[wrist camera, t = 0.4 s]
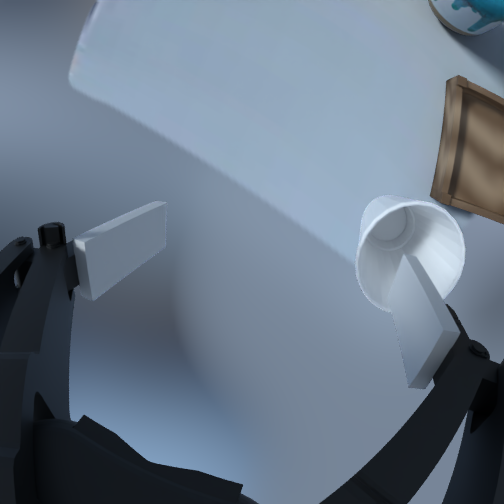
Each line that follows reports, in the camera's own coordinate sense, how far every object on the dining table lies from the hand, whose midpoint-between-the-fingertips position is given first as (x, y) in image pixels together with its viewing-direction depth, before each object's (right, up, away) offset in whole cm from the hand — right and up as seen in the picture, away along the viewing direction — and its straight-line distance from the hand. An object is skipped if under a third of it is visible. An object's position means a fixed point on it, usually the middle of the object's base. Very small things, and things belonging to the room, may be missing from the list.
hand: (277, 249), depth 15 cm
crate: (+33, +14, +15) cm, 39 cm away
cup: (+18, +5, +24) cm, 30 cm away
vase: (+29, +36, +8) cm, 47 cm away
